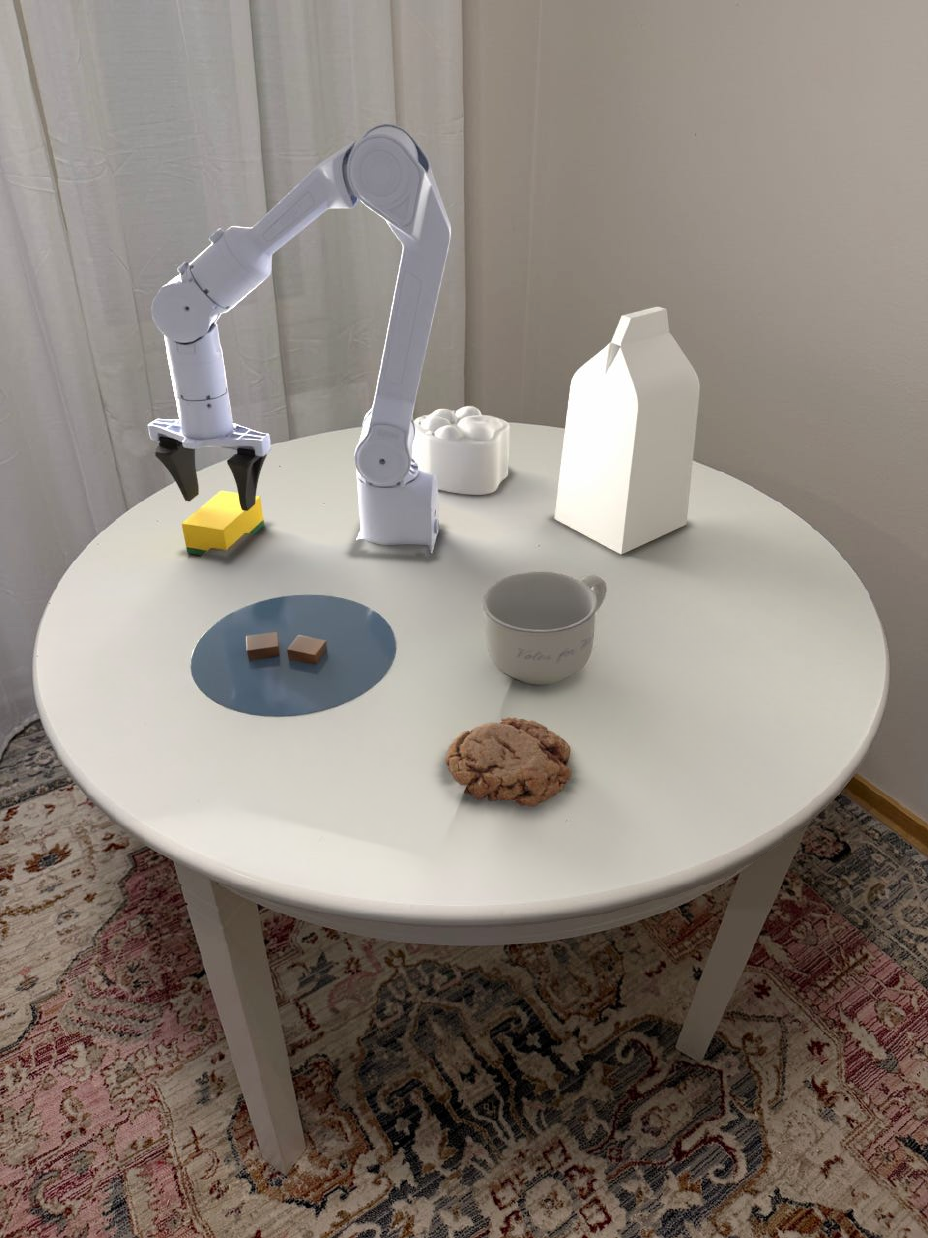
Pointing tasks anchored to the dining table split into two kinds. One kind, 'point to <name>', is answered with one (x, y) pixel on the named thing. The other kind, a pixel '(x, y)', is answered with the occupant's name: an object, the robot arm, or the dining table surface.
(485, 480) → the lumpy-topped squat cylinder
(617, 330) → the milk
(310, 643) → the block
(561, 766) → the cookie
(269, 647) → the block
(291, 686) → the plate
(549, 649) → the teacup
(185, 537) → the sponge
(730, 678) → the dining table surface
